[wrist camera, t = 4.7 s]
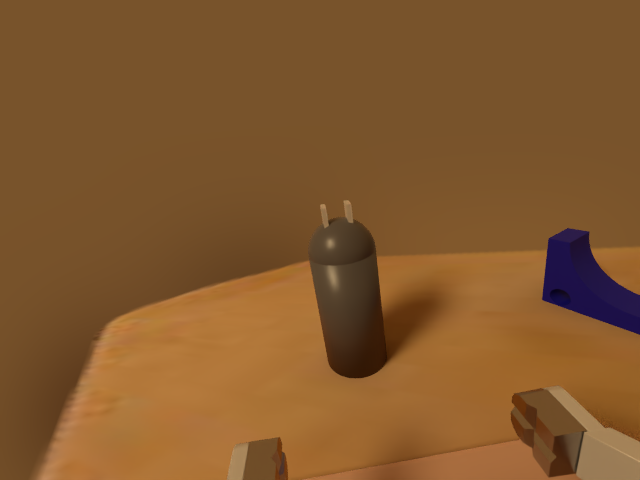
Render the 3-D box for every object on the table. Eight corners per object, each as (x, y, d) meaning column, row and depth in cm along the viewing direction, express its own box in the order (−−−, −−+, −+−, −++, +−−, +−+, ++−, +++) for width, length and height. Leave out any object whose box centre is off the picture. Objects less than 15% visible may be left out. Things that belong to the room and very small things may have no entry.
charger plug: (378, 332, 26) (362, 192, 22) (394, 371, 22) (378, 206, 18) (325, 341, 26) (300, 202, 22) (331, 383, 22) (300, 219, 17)
